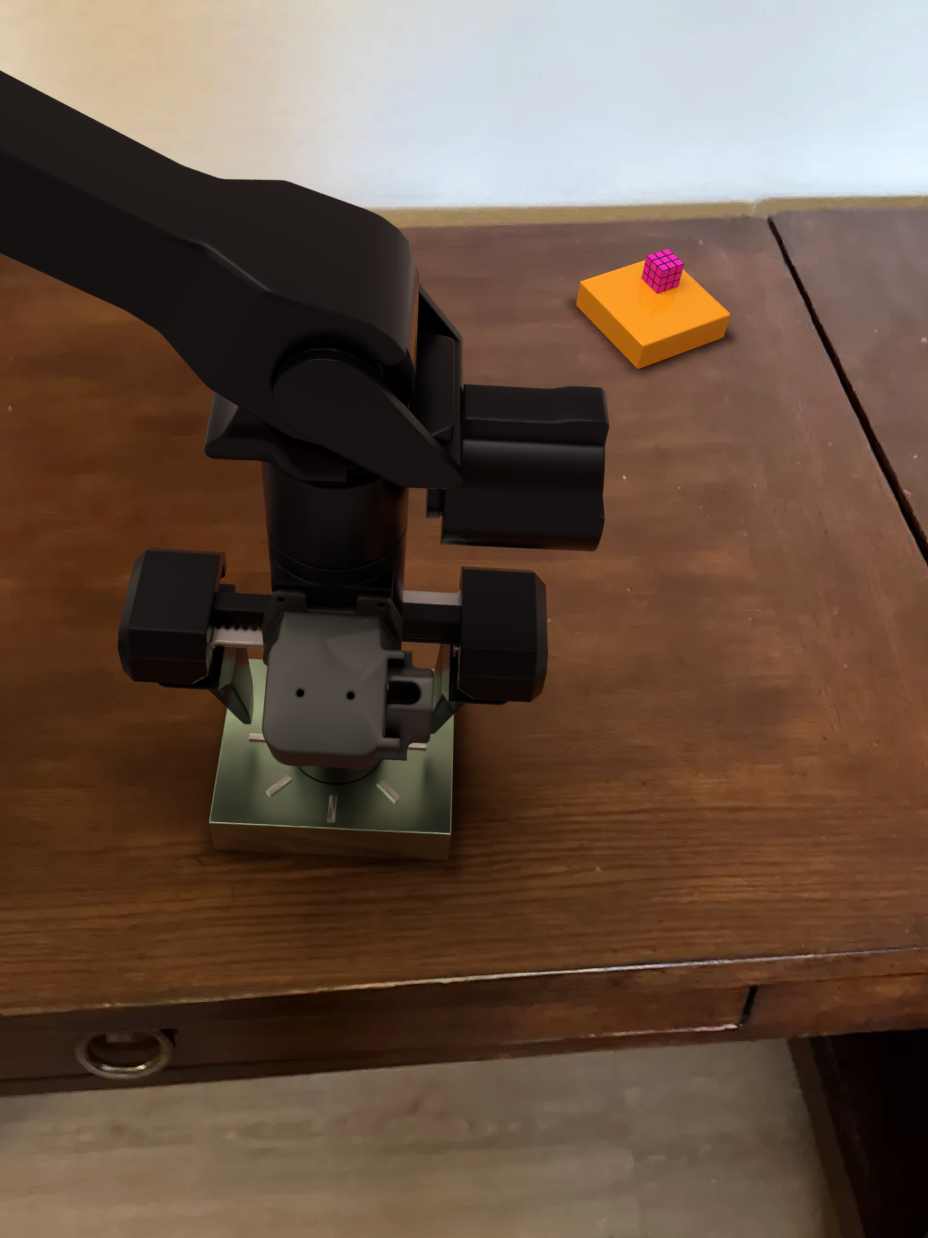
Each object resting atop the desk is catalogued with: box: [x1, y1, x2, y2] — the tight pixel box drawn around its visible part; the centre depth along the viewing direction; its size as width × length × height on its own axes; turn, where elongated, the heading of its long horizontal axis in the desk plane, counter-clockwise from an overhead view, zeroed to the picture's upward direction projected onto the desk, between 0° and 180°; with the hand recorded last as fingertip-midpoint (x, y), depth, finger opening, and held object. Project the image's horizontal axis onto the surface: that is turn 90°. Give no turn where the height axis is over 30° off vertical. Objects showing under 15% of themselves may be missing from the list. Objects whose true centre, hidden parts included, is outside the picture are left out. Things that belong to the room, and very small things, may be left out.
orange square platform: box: [575, 248, 731, 370], centre depth 89 cm, size 8×8×4 cm
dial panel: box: [208, 658, 455, 862], centre depth 64 cm, size 12×10×3 cm
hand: (340, 721), depth 61 cm, fingers open, 9 cm apart
